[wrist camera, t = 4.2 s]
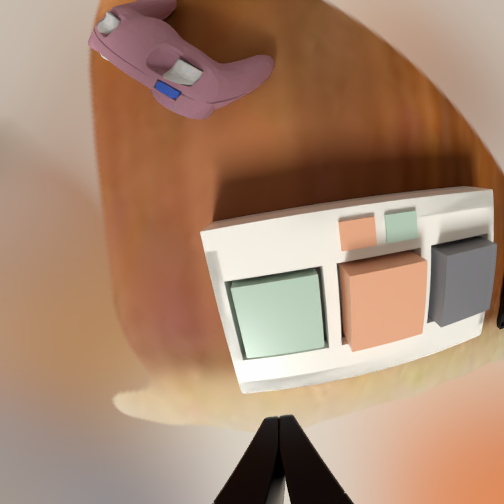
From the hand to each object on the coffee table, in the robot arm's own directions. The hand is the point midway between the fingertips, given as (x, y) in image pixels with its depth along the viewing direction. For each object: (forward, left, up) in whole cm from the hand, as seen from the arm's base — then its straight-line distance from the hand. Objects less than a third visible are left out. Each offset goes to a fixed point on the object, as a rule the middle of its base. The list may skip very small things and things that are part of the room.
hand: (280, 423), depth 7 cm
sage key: (0, 0, -9) cm, 9 cm away
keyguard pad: (-6, 0, -10) cm, 12 cm away
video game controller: (+2, -15, -10) cm, 19 cm away
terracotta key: (-6, 0, -8) cm, 10 cm away
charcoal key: (-11, 0, -8) cm, 14 cm away
